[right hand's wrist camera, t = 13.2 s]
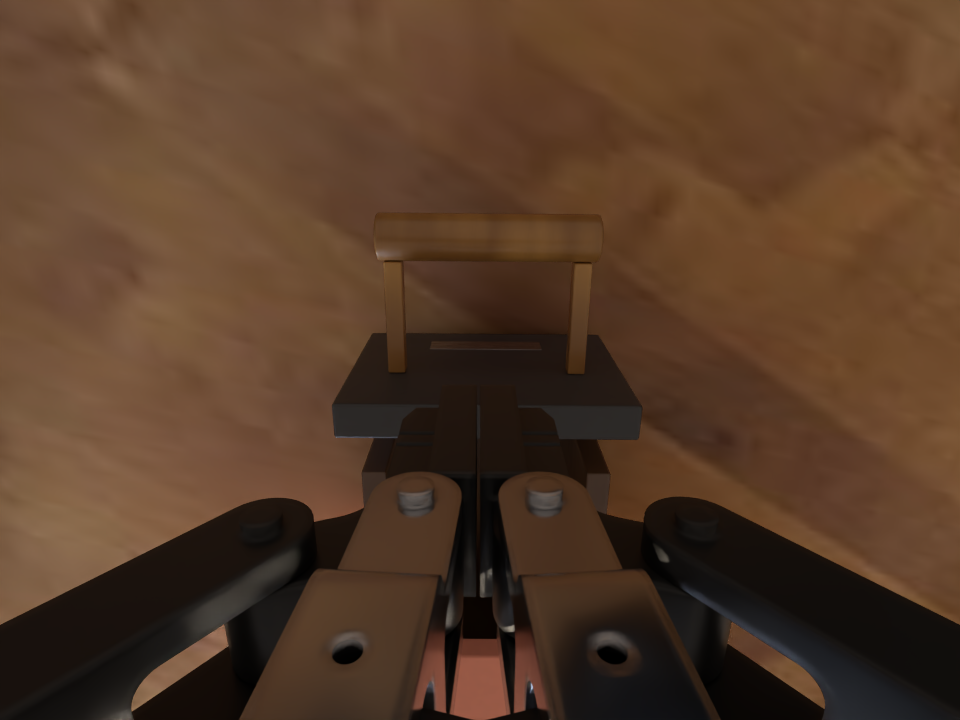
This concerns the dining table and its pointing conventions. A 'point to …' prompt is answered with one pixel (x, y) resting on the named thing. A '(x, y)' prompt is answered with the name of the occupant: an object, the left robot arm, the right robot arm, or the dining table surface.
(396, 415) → the drawer
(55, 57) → the dining table surface
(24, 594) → the dining table surface
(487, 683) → the cabinet
